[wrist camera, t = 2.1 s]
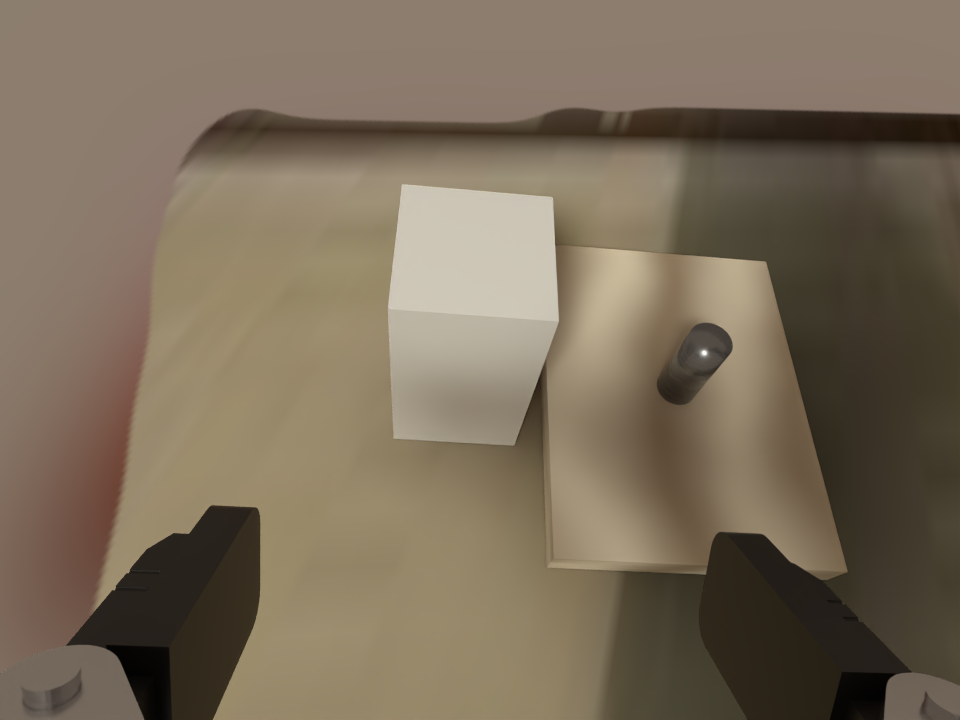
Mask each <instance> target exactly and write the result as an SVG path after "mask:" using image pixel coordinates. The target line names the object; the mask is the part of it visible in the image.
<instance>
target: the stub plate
mask: <svg viewBox="0 0 960 720" xmlns="http://www.w3.org/2000/svg"><path fill="white" fill-rule="evenodd" d="M555 253H556V273H557V293H558V312H559V323H558V326H557V328H556V331H555V334H554V337H553V339H552V342H551V345H550V348H549V351H548V353H547V356H546V359H545V362H544V364H543V367H542V370H541V373H540V374H541V406H542V438H543V469H544V501H545V533H546V565H547V568H569V569H591V570H614V571H636V572H659V573H682V574H704V575H706V571H707V566H708V560H709V555H710V550H711V545H712V541H713V539H714V537H715V535H716V534H717V533H719V532H738V533H758V534H763V535H765V536H766V537H767V538H768V539H769V540H770V541H771V542H772V543H773V544H774V545H775V546H776V547H777V548H778V550H779V551H780V552H781V553H782V554H783V555H784V556H785V557H786V558H787V559H788V560H789V561H790V562H791V563H794V564H796V565H798V566H799V567H801V568H802V569H804V570H806V571H807V572H809V573H810V574H812V575H814V576H815V577H817V578H818V579H820V580H828V579H831V578H833V577H836V576H838V575H841V574H844V573H846V572H848V571H847V567H846V564H845V560H844V556H843V552H842V549H841V545H840V541H839V537H838V533H837V530H836V526H835V522H834V518H833V514H832V511H831V507H830V503H829V499H828V495H827V492H826V488H825V484H824V480H823V476H822V473H821V469H820V465H819V461H818V458H817V454H816V450H815V446H814V442H813V439H812V435H811V431H810V427H809V423H808V420H807V416H806V412H805V408H804V404H803V401H802V397H801V393H800V389H799V385H798V382H797V378H796V374H795V370H794V367H793V363H792V359H791V355H790V351H789V348H788V344H787V340H786V336H785V332H784V329H783V325H782V321H781V317H780V313H779V310H778V306H777V302H776V298H775V295H774V291H773V287H772V283H771V279H770V276H769V272H768V268H767V264H766V262H763V261H751V260H738V259H726V258H714V257H701V256H689V255H677V254H664V253H652V252H640V251H627V250H615V249H603V248H590V247H578V246H566V245H555Z"/></svg>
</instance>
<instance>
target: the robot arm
mask: <svg viewBox="0 0 960 720" xmlns="http://www.w3.org/2000/svg"><path fill="white" fill-rule="evenodd" d="M259 597H260V515H259V511H258V509H257V508H256V507H235V506H215V505H212V506H210V507H209V508H208V509H207V511H206V512H205V513H204V515H203V516H202V517H201V519H200V520H199V521H198V523H197V524H196V525H195V527H194V528H193V529H192V531H191V532H190V533H189V534H178V533H173V534H172V535H170V536H168V537H167V538H165V539H163V540H162V541H160V542H158V543H157V544H155V545H153V546H152V547H150V548H148V549H147V550H146V551H145V552H144V553H143V554H142V556H141V557H140V558H139V559H138V560H137V561H136V563H135V564H134V565H133V566H132V567H131V569H130V572H129V573H126V575H125V576H124V577H123V578H122V579H121V581H120V582H119V583H118V584H117V585H116V589H115V590H112V591H111V593H110V594H109V595H108V596H107V597H106V599H105V600H104V601H103V602H102V603H101V605H100V606H99V607H98V608H97V609H96V610H95V612H94V613H93V614H92V615H91V616H90V618H89V619H88V620H87V621H86V623H85V624H84V625H83V626H82V627H81V628H80V630H79V631H78V632H77V633H76V634H75V636H74V637H73V638H72V639H71V640H70V642H69V643H68V644H67V645H66V646H63V647H58V648H53V649H50V650H46V651H43V652H40V653H37V654H35V655H32V656H30V657H28V658H25V659H23V660H21V661H19V662H17V663H16V664H14V665H12V666H10V667H9V668H7V669H6V670H5V671H3V672H2V673H0V720H213V718H214V715H215V713H216V711H217V709H218V706H219V704H220V702H221V699H222V697H223V695H224V693H225V690H226V688H227V686H228V684H229V681H230V679H231V677H232V674H233V672H234V670H235V668H236V665H237V663H238V661H239V659H240V656H241V654H242V652H243V649H244V647H245V645H246V643H247V640H248V638H249V636H250V633H251V631H252V629H253V626H254V623H255V619H256V615H257V611H258V605H259ZM699 626H700V632H701V636H702V640H703V642H704V645H705V647H706V649H707V650H708V652H709V654H710V656H711V657H712V659H713V661H714V663H715V664H716V666H717V668H718V669H719V671H720V673H721V675H722V676H723V678H724V680H725V681H726V683H727V685H728V687H729V688H730V690H731V692H732V694H733V695H734V697H735V699H736V700H737V702H738V704H739V706H740V707H741V709H742V711H743V713H744V714H745V716H746V718H747V719H748V720H960V686H958V685H956V684H954V683H951V682H949V681H946V680H943V679H940V678H938V677H934V676H930V675H926V674H920V673H912V672H911V671H910V670H909V669H908V668H907V667H906V666H905V665H904V664H903V663H902V662H901V661H900V660H899V659H898V658H897V657H896V656H895V655H894V654H893V653H892V652H891V651H890V650H889V649H888V648H887V647H886V646H885V645H884V643H883V642H882V641H881V640H880V639H879V638H878V637H877V636H876V635H875V634H874V633H873V632H872V631H871V630H870V629H869V628H868V627H867V626H866V625H865V624H864V623H863V622H859V621H858V617H857V616H856V615H855V614H854V613H853V612H852V611H851V610H850V609H849V608H848V607H847V606H846V605H842V603H841V600H840V599H839V598H838V597H837V596H836V595H835V594H834V593H833V592H832V591H831V589H830V588H829V587H828V586H827V585H826V584H825V583H824V582H823V581H822V580H820V579H818V578H817V577H815V576H814V575H812V574H810V573H809V572H807V571H806V570H804V569H802V568H801V567H799V566H798V565H796V564H794V563H791V562H790V561H789V560H788V559H787V558H786V557H785V556H784V555H783V554H782V553H781V552H780V551H779V550H778V548H777V547H776V546H775V545H774V544H773V543H772V542H771V541H770V540H769V539H768V538H767V537H766V536H765V535H763V534H758V533H738V532H719V533H717V534H716V535H715V537H714V539H713V541H712V545H711V550H710V555H709V560H708V566H707V571H706V576H705V582H704V587H703V592H702V597H701V603H700V608H699Z"/></svg>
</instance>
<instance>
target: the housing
mask: <svg viewBox="0 0 960 720" xmlns="http://www.w3.org/2000/svg"><path fill="white" fill-rule="evenodd" d="M558 323H559V312H558V293H557V273H556V253H555V233H554V214H553V197H544V196H532V195H521V194H509V193H498V192H486V191H474V190H463V189H451V188H440V187H428V186H417V185H405V184H402V190H401V199H400V207H399V216H398V225H397V233H396V242H395V251H394V260H393V268H392V277H391V286H390V295H389V303H388V324H389V346H390V369H391V391H392V414H393V436H394V439H407V440H424V441H441V442H459V443H476V444H493V445H511V446H514V445H515V442H516V439H517V437H518V434H519V431H520V428H521V426H522V423H523V420H524V417H525V414H526V412H527V409H528V406H529V403H530V401H531V398H532V395H533V392H534V389H535V387H536V384H537V381H538V378H539V376H540V373H541V370H542V367H543V364H544V362H545V359H546V356H547V353H548V351H549V348H550V345H551V342H552V339H553V337H554V334H555V331H556V328H557V326H558Z"/></svg>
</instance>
